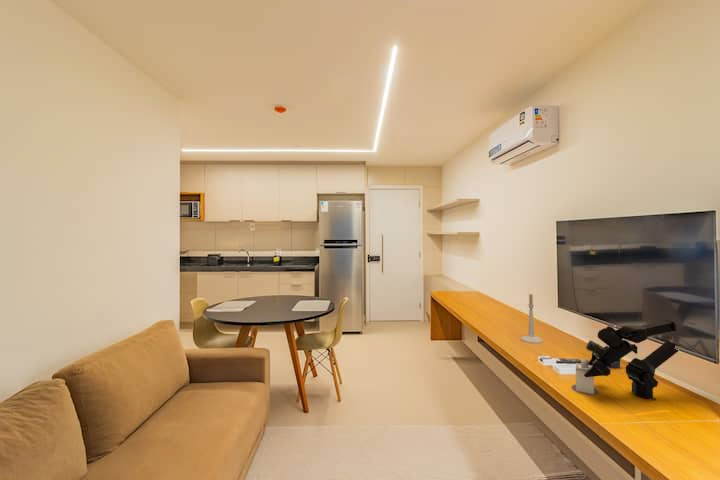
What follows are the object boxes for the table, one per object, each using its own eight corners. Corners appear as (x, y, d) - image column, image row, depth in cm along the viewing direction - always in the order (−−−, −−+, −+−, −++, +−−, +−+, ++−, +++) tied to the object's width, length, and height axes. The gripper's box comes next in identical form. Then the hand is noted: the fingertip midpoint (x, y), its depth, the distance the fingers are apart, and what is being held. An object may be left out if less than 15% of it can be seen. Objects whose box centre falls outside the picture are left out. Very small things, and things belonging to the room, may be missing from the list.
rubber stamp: (593, 388, 151) (593, 358, 150) (593, 394, 145) (593, 363, 145) (576, 385, 154) (575, 356, 154) (576, 390, 149) (575, 361, 149)
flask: (618, 366, 176) (618, 346, 175) (621, 369, 173) (621, 347, 173) (598, 365, 178) (598, 345, 177) (601, 367, 175) (601, 347, 175)
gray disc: (604, 396, 146) (604, 393, 146) (583, 398, 144) (583, 395, 144) (586, 385, 155) (585, 383, 155) (566, 387, 154) (566, 385, 154)
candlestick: (545, 343, 213) (545, 295, 212) (524, 343, 215) (523, 295, 214) (538, 337, 226) (538, 292, 225) (517, 336, 228) (517, 291, 227)
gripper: (598, 330, 154) (570, 350, 161) (600, 342, 139) (568, 364, 145) (620, 350, 150) (590, 370, 156) (624, 365, 134) (591, 386, 141)
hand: (584, 372), depth 150 cm, fingers open, 9 cm apart
